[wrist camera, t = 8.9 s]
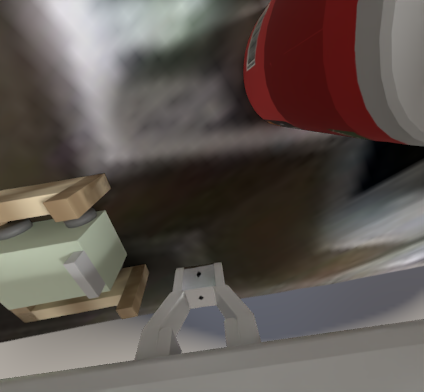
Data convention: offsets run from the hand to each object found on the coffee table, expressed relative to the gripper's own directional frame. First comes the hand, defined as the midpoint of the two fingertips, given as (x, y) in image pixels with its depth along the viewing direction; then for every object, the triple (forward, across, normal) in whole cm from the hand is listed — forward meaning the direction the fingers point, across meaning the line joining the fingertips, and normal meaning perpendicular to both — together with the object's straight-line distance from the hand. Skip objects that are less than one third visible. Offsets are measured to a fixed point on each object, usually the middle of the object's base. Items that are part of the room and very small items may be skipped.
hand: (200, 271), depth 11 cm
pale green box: (+7, +14, +1) cm, 15 cm away
